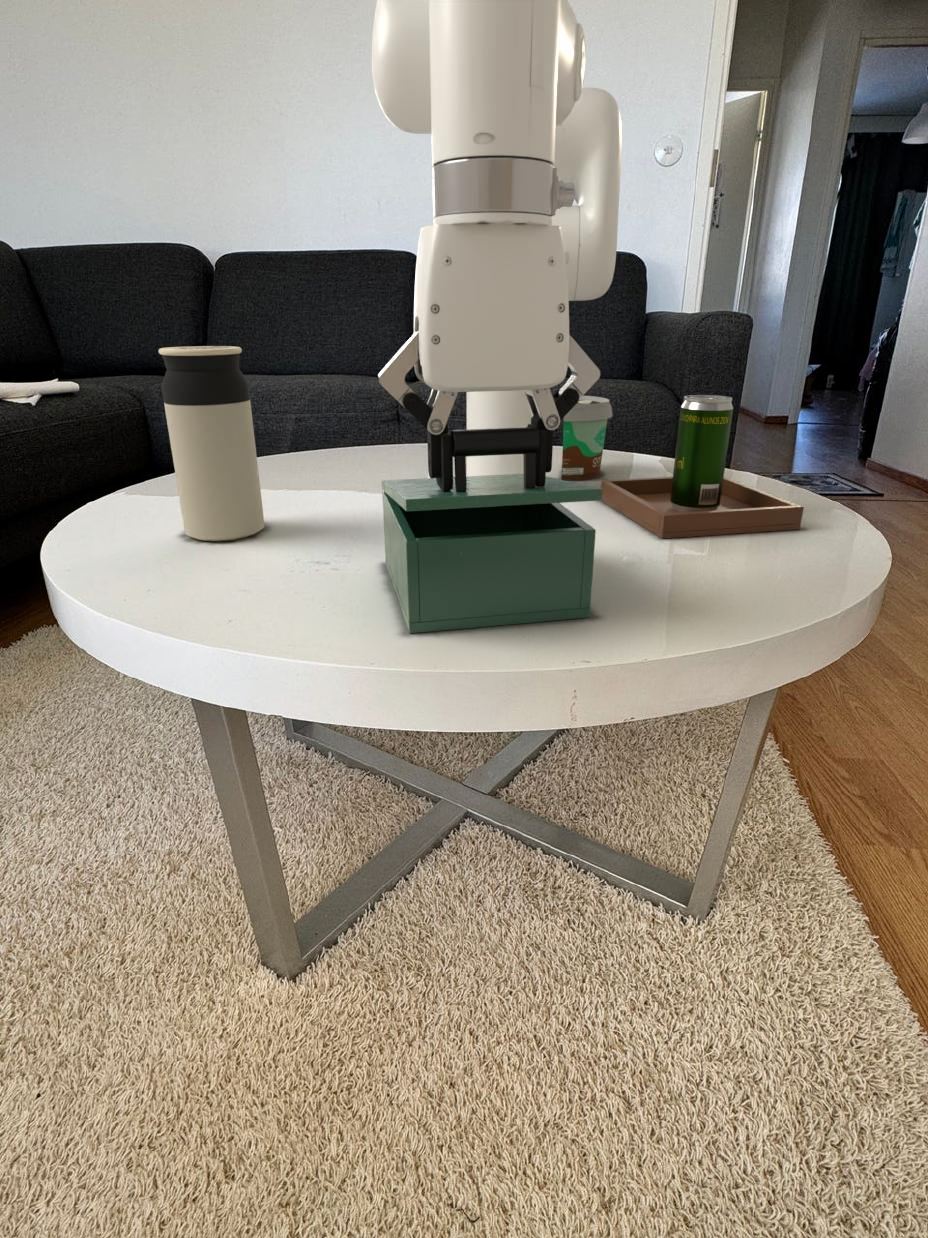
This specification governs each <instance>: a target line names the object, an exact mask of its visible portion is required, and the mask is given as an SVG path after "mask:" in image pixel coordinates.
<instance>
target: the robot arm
mask: <svg viewBox="0 0 928 1238" xmlns="http://www.w3.org/2000/svg"><path fill="white" fill-rule="evenodd" d="M586 58H587V57H586V37H585V32H584V28H583V26H582V24H581V23H578V20H577V17H576V14H575V11H574V9H573V7H572V5H571V4H570V2H569V0H376V3H375V10H374V17H373V26H372V36H371V73H372V82H373V87H374V92H375V97H376V99H377V102H378V104H379V107H380V110H381V111H382V113H383V115H384V117H385V118H386V120H388V121H389V123H390V124H392V126H394V127H395V128H396V129H398V130H400V131H402V132H405V133H409V134H413V135H431V166H432V169H431V170H432V210H433V211H432V215H433V216H432V217H433V224H430V225H426V226H425V225H424V226H423V227H421V228H420V233H419V239H418V244H417V251H416V252H417V253H416V262H415V275H414V276H415V278H414V295H413V296H414V297H413V334H412V335H411V337H409V339H408V340H407V341H405V343H404V344H403V345H402V346H401V347H400V348H399V350H397V352H396V353H395V354H394V356H392V358H391V359H390V360H389V361H388V362H387V363H386V364H385V366H384V367H383V368H382V369H381V370H380V372H379V373H378V374H377V381H378V383H379V384H380V386H381V387H382V388H383V389H385V390H386V392H388V394H390V396H392V397H393V398H394V399H395V400H396V401H397V402H398V403H399V404H400V405H401V406H402V407H403V408H404V409H405V410H406V411H407V412H408V413H409V414H410V415H411V416H412V417H413V418H415V420H417V422H418V423H420V424H421V425H422V426H423V427H424V428H425V429H426V436H427V437H426V439H427V470H428V477H429V478H436V481H437V485H438V486H439V487H440V489H441V490H442V492H450V491H451V490H453V477H454V457H453V438H452V435H450V434H451V433H450V432H449V425H448V421H449V418H450V416H451V412H452V411H453V408H454V405H455V402H456V399H457V396H458V395H459V393H466V430H471V429H499V428H527V427H536V428H537V429H538V431H539V437H540V444H539V450H538V452H537V453H536V454H535V486H536V487H544V486H545V478H546V477H547V476H546V475H547V473H550V472H552V467H553V449H554V448H553V447H554V431H555V430H556V429H558V428H559V426H560V424H561V421H562V420H564V417H565V415H566V414H567V413H568V412H569V411H570V410H571V409H572V408H573V407H574V406H575V405H576V404H577V402H578V401H579V398H580V397H581V396H585V394H586V393H587V392H588V391H589V390H591V388H592V387H593V386H594V384H596V383H597V382H598V381H599V379H600V378H601V370H600V369H599V367H598V366H597V365H596V364H595V362H594V361H593V360H592V359H591V358H590V357H589V355H588V354H587V353H586V352H585V351H584V349H582V347H581V345H579V344H578V343H577V341H576V340H575V339H574V338H573V337H572V335H571V334H570V303H569V302H575V301H576V302H577V301H578V302H579V301H581V302H582V301H583V302H584V301H591V300H596V299H598V298H601V297H602V296H604V295H605V294H606V293H607V292H608V290H609V289H610V286H611V285H612V282H613V280H614V274H615V271H616V270H615V268H616V261H617V250H618V249H617V248H618V231H619V229H618V228H619V209H620V192H621V190H620V189H621V172H622V170H621V169H622V152H623V151H622V150H623V149H622V147H623V144H622V143H623V129H622V118H621V117H622V116H621V112H620V107H619V104H618V102H617V100H616V98H615V97H614V96H613V94H611V93H610V92H609V91H608V90H605V89H602V88H598V87H588V86H587V87H586V86H585V87H584V81H585V73H586V62H587V61H586V60H587V59H586ZM574 201H575V202H576V204H575V205H573V204H574ZM413 367H414V373H415V376H416V378H417V379H418V380H419V381H420V382H422V383H424V384H425V385H427V386H428V388H431V392H430V394H429V396H428V400H427V402H425V400H423V399H422V398H421V397H420V396H419V395H418V394H417V393H416V392H415V391H414V389H412V388H411V387H410V386H409V385H408V384H407V383H406V376H407V375H408V373H409V372H410V371H411V370H412V369H413ZM568 368H569V369H570V371H571V373H570V377H569V378H568V379H567V380H566V382H565V384H564V385H562V386H560V387H559V388H557V390H556V391H554V393H552V391H551V388H554V387H555V386H558V385H560V384H561V383H562V382H563V381H564V380H565V379H566V376H567V372H568ZM507 474H524V464H523V454H513V455H489V456H466V476H487V475H507Z"/></svg>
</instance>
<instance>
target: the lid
mask: <svg viewBox="0 0 928 1238" xmlns="http://www.w3.org/2000/svg"><path fill="white" fill-rule="evenodd" d="M449 434H450V435H452V438H453V465H454V476H453V490H451V491H450V492H442V490H441V489H440V487H439V486H438V485H437V481H436V478H430V477H428V478H427V477H425V478H408V479H407V478H406V479H387V480H386V479H385V480H381V489H382V490H381V491H384V492H385V493H387V494H388V495H389V496H390V497H391V498H392V499H393V500H394V501H396V502H397V503H398V504H399V505H400V506H401V507H402V508H403V509H405V510H406V511H423V510H440V509H458V508H476V507H493V506H511V505H529V504H546V503H560V504H561V503H562V504H563V503H579V502H580V503H581V502H596V501H598V502H599V501H601V500H602V489H601V487H595V486H591V485H587V484H582V483H577V482H573V481H570V480H561V479H560V478H554V477H550V476H546V478H545V486H544V487H536V486H535V454H536V453H537V452H538V450H539V444H540V437H539V431H538V429H537V428H536V427H527V428H499V429H471V430H467V429H452V430H451V431H450V433H449ZM513 454H523V464H524V474H507V475H487V476H467V456H489V455H513Z"/></svg>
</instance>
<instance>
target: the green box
mask: <svg viewBox="0 0 928 1238" xmlns="http://www.w3.org/2000/svg"><path fill="white" fill-rule="evenodd" d="M381 493H382V515H383V535H384V537H383V538H384V556H385V557H384V559H385V566H386V569H387V572H388V575H389V578H390V580H391V581H390V582H391V583H392V587H393V589H394V592H395V595H396V598H397V601H398V604H399V607H400V610H401V613H402V616H403V619H404V621H405V624H406V627H407V630H408V633H409V634H418V633H428V632H441V631H452V630H461V629H462V630H463V629H474V628H475V629H476V628H485V627H495V626H507V625H508V626H509V625H518V624H519V625H520V624H530V623H541V622H542V623H543V622H553V621H564V620H574V619H585V618H590V617H591V615H590V614H591V604H592V603H591V601H592V590H593V589H592V588H593V586H592V585H593V575H594V573H593V572H594V561H595V559H594V558H595V548H596V547H595V546H596V545H595V544H596V533H597V532H596V531H597V529H595V528H594V527H593V526H591V525H590V524H588V523H587V522H586V521H584V520H583V519H582V518H580V517H579V516H578V515H576V514H575V513H574V512H573V511H571V510H570V509H568V508H567V507H566V506H564V505H562V504H561V503H546V504H529V505H511V506H493V507H476V508H458V509H440V510H423V511H406V510H405V509H403V508H402V507H401V506H400V505H399V504H398V503H397V502H396V501H394V500H393V499H392V498H391V497H390V496H389V495H388V494H387V493H385V492H384V491H383V490H381Z"/></svg>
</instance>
